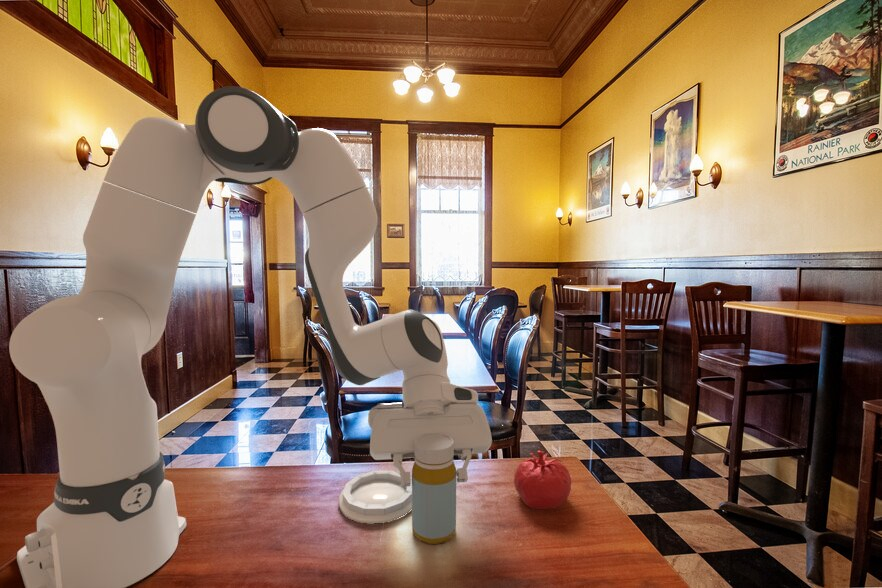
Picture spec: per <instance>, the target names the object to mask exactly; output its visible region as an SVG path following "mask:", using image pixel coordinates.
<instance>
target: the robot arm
mask: <svg viewBox="0 0 882 588" xmlns="http://www.w3.org/2000/svg"><path fill="white" fill-rule="evenodd" d="M194 123H195V124H185V123H184V124H183V123H181V122H179V121H176V120H174V119H172V118H167V117H160V116H147V117H143V118H141V119H139V120H137V121H136V122H135V123H134V124H133V125H132V126H131V128H130V130H128V132H127V134H126V135H125V136H124V139H123V140H122V142H121V144H120V145H119V147H118V148H117V150H116V152H115V154H114V156H113V158H112V160H111V162H110V164H109V166H108V167H107V170H106V173H105V176H104V178H103V181H102V184H101V187H100V189H99V192H98V194H97V196H96V199H95V202H94V205H93V208H92V210H91V213H90V215H89V219H88V221H87V224H86V227H85V229H84V232H83V237H82V242H83V245H84V248H85V254H86V257H85V259H86V260H85V272H84V279H83V285H82V287H81V290H80V292H79V293H78V294H74V295H68V296H63V297H59V298H56V299H54V300H51V301H49V302H47V303H46V304H44V305H42V306H41V307H39V308H37V309H35V310H34V311H32V312H31V313H30V314H28V315H27V316H25V317H24V318H23V319H22V320H20V322H19V323H17V325H16V327H15V328H14V329H13V331H12V333H11V335H10V337H9V345H8V348H9V355H10V359H11V362H12V363H13V365H14V366H15V368H16V370H18V372H19V373H20V374H21V375H23V376H24V377H25V378H27V379H28V380H30V381H31V382H34V383H35V384H37V387H38V388H39V390H40V391H41V394H42V396H43V398H44V401H45V403H46V404H47V406H48V407H47V408H48V409H49V412H50V415H51V417H52V421H53V424H54V429H55V436H56V437H55V438H56V444H57V445H56V446H57V457H58V458H57V459H58V467H59V472H57V473H56V474H57V475H59V476H58V477H57V480H56V485H55V487H54V491H53V492H54V493H53V495H54V499H53V503H51V504H50V505H49V506H48V507H47V508H45V509H44V510H43V511H42V512H40V514H39V515H38V517H37V518H36V531H34V532H32V533H29V534H27V535H26V536H25V538H24V543H25V545H24V546H23V547H21V548H20V549H19V550H18V551H17V553H16V562H17V565H18V568H19V572H20V574H21V577H22V582H23V584H24V587H25V588H127V587H130V586H131V585H134V584H135V583H137V582H140V581H142V580H143V579H144V578H146V577H148V576H149V575H151V574H153V573H154V572H155V571H156V570H158V569H159V568H161V567H162V566H163V565H164V564H165V563H166V562H167V561H168V560H169V559H170V558H171V557H172V556H173V554H174V553H175V551H176V549H177V547H178V543H179V537H180V534H182V532H183V531H184V530H185V529H186V527H187V520H186V517H183V516H181V515H179V514H178V508H177V502H176V495H175V488H174V484H173V482H172V481H171V480H169V479H165V477H166V474H165V470H166V464H165V460H164V455H163V453H162V452H161V451H160V438H159V421H158V407H157V403H156V401H155V400H154V399H153V398H152V396H151V394H150V393H149V390H148V387H147V383H146V380H145V377H144V373H143V369H142V358H143V355H146V354H147V353H148V352H150V351H151V350H153V348H154V347H155V346H156V345H157V344H158V343H159V341H160V339H161V338H162V336H163V333H164V332H165V330H166V329H165V328H166V325H167V317H168V313H169V310H170V306H171V302H172V297H173V291H174V286H175V280H176V275H177V271H178V268H179V263H180V261H181V257H182V255H183V253H184V252H183V251H184V249H185V246H186V244H187V241H188V238H189V235H190V233H191V230H192V227H193V224H194V221H195V218H196V216H197V213H198V210H199V207H200V204H201V202H202V200H203V196H204V194H205V192H206V190H207V188H208V187H209V185H211V183H212V182H214V181H215V182H217V183H228V184H237V185H244V186H245V185H246V186H252V185H253V186H255V185H261V184H264V183H267V182H268V181H270V180H272V179H275V180H277V181H279V182H281V183H282V184H283V185H284V186H286V188H287V189H288V191H289V192H290V193H291V195H292V196H293V198H294V199H295V202H296V204H297V206H298V208H299V211H300V212H301V214H302V216H303V218H304V220H305V224H306V227H307V232H308V239H309V241H308V242H309V243H308V245H309V246H308V248H307V250H306V251H305V253H304V264H305V269H306V273H307V276H308V279H309V280H308V281H309V284H310V286H311V289H312V292H313V297H314V298H315V301H316V305H317V308H318V311H319V313H320V316H321V319H322V321H323V322H322V323H323V325H324V328H325V332H326V334H327V337H328V341H329V344H330V351H331V356H332V360H333V361H332V362H333V365H334V367H335V371H336V372H337V374H339V376H340V377H342V378H343V379H344V380H346V381H347V382H349V383H351V384H353V385H356V386H363V385H366V384H369V383H371V382H374V381H376V380H378V379H380V378H381V377H384V376H387V375H388V376H389V375H391V374H393V373H397V372H400V371H402V373H403V380H402V381H403V382H402V385H401V386H402V387H401V388H402V391H401V392H402V401H401V402H391V403H384V402H381V403H377V405H375V406H373V407H371V409H369V411H368V414H367V415H368V418H367V421H368V426H369V428H371V430H370V431H371V432H370V442H369V455H370V456H371V457H372V458H373V459H374V460H375V461H382V460H383V461H384V460H393V461H392V462H393V467H394V469H395V470H396V472H398V474H399V475H400V476H401V487H406V486H410V485H411V481H412V478H411V471H406V470H405V468H404V467H403V459H411V458H413V459H415V440H416V438H418V437H419V436H421V435H424V434H429V433H440V434H445V435H448V436H450V437H451V438H452V439H453V441H454V455H453V456H458V455H460V458H461V459H460V460H461V461H462V462H464V463H463V465H462V467H458V468H457V469H456V483H467V482H468V480H469V479H468V478H469V477H468V471H467V469H468V466H469V464H470V461H471V459H472V457H473V456H472V455H474V454H477V455H478V454H486V453H487V452H488V451H489V449H490V448H491V446H492V444H493V443H492V442H493V439H492V432H491V428H490V424H489V420H488V419H487V418H488V417H487V415H486V412H485V410H484V408H482V406H480V405H479V404H478V402H479V394H478V392H477V390H475V389H470V388H467V387H463V386H459V385H457V384H452V383H451V380H450V378H449V375H448V372H447V371H448V365H449V362H448V356H447V355H448V354H447V349H446V345H445V340H444V337H443V333H442V330H441V329H440V328H441V327H439V325H438V323H436V322H435V321H434V320H433V319H431V318H430V317H429V316H427V315H425V314H423V313H421V312H420V311H418V310H415V309H412V308H410V309H407V310H403V311H399V312H397V313H394V314H391V315H388V316H386V317H384V318H381V319H379V320H375V321H373V322H369V323H367V324H365V325H359V324H358V323H356V322H355V319H354V316H353V314H352V311H351V307H350V303H349V301H348V300H349V299H348V298H347V295H346V291H345V288H344V283H343V281H344V280H343V279H344V274H345V272H346V269H347V268H348V266H349V265H350V264H351V263H352V262H353V261H354V260H355V259H356V258H357V257H358V256H359V255H360V254H361V253H362V252H363V251H364V249H365V248H366V247H367V246H368V245H369V244H370V242H372V239H373V237H374V236H375V234H376V231H377V227H378V213H377V210H376V206H375V204H374V203H375V202H374V200H373V198H372V196H371V193H370V191H369V189H368V187H367V185H366V183H365V181H364V179H363V176H362V175H361V173H360V171H359V169H358V167H357V165H356V164H355V162H354V160H353V158H352V157H351V155H350V154H349V153H348V150H346V148H345V146H344V145H343V143H342V142H341V141H340V139H339V138H338V137H337V136H336V135H335V134H334V133H333V132H331V131H330V130H328V129H325V128H319V127H317V128H307V129H304V130H301V131H299V130H298V127H297V124H296V123H295V122H294V121H293V120H292V119H290V118H289V117H288V116H286V115H285V114H284V113H282V112H281V111H280V110H279V109H277V108H276V107H275V106H274V105H273V103H270V102H269V101H268V100H267V99H266V98H264V97H263V96H261V95H260V94H258V93H256V92H255V91H253V90H250V89H248V88H245V87H241V86H233V85H231V86H222V87H220V88H217V89H214V90H212V91H211V92H209V93H208V94H206V96H205V97H204V98H203V99H202V101H201V102H200V104H199V105H198V108H197V110H196V114H195V120H194Z"/></svg>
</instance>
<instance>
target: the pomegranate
mask: <svg viewBox="0 0 882 588" xmlns="http://www.w3.org/2000/svg"><path fill="white" fill-rule="evenodd" d="M536 452H537V455H538V457H537V456H536V455H535V454H534V453H533V452H531V453H529V452H528V455H530V456H531V458H528V459H523V461H522V462H520V463H519V465H518V467H517V468H516V470H515V472H514V479H513V482H514V483H513V484H514V487H515V490H516V492H517V493H518V495H519V497H520V499H521V500H522V502H523V503H524V504H525V505H526V506H527V507H528V508H531V509H534V510H550V509H551V510H552V509H553V508H558V507H560V506H562V505H564V503H566V501H567V500H568V498H569V496H570V494H571V491H572V477H571V475H570V473H569V469H568V468H567V467H566V466H565V465H564V464H562V463H560V462H562V460H560V459H559V458H558V459H557V458H553V459H550V458H547V457H548V455H549V452H547V453H545V451H542V450H537V451H536ZM544 453H545V454H544Z"/></svg>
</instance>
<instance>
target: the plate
mask: <svg viewBox="0 0 882 588" xmlns="http://www.w3.org/2000/svg"><path fill="white" fill-rule="evenodd" d="M338 501H339V502H338V504H339V505H338V507H339V509H340V512H341V513H342V514H343V516H344V517H345V518H347V517H348V518H347V519H349V520H350V519H351V521H352V520H354V521H353V522H355V521H357V522H356V523H358V522H361V523H360V524H363V523H367V524H366V525H375V524H374V523H383V522H388V521H391V520H394V519H397V518H399V517H401V516H403V515H405V514H406V513H408V512H409V511H410V510H411V509H412V480H411V485H410V486H406V487H401V476H400V475H399V474H398V472H397V471H394V470H391V469H390V470H370V471H369V472H363V473H361V474H358V475H356V476H354V477H353V478H351V479H350V480H349V481H347V482H346V483H345V486H344V488H343V489H342V490H341V492H340V494H339V497H338ZM388 523H389V522H388ZM383 524H384V523H383Z"/></svg>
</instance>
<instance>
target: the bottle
mask: <svg viewBox="0 0 882 588" xmlns="http://www.w3.org/2000/svg"><path fill="white" fill-rule="evenodd" d="M454 456H455V455H454V441H453V439H452V438H451V437H450V436H448V435H445V434H440V433H429V434H424V435H421V436H419V437H418V438H416V440H415V458H414V463H413V466H412V469H411V481H412V511H411V526H412V527H411V528H412V529H411V530H412V533H413V535H414V537H416V538H417V539H418V540H419V539H420V540H419V541H421V542H422V541H423V543H425V542H426V543H425V544H428V543H430V545H440V544H443V543H445V542H446V541H449V540H450V539H452V538H451V537H453V535H455V533H456V529H457V527H456V526H457V475H456V471H457V469H456V468H457V467H456V465H455V462H454ZM448 539H449V540H448Z"/></svg>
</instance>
